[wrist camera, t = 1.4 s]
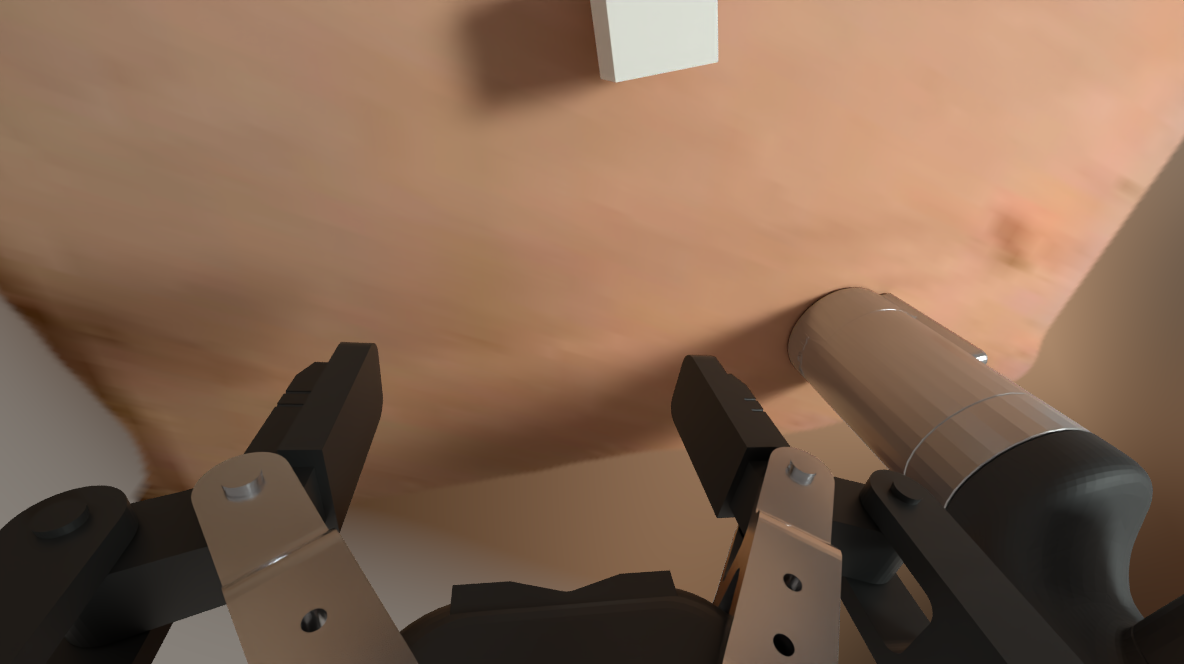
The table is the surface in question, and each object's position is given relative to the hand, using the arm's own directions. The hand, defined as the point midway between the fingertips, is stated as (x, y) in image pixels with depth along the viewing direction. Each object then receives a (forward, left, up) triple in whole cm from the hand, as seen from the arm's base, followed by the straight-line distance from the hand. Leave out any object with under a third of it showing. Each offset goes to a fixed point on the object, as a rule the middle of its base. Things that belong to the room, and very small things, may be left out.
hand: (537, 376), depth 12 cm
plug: (-8, -8, -21) cm, 24 cm away
